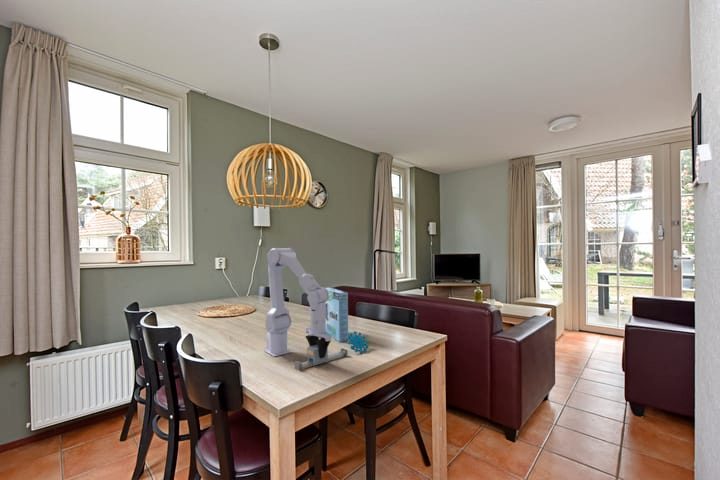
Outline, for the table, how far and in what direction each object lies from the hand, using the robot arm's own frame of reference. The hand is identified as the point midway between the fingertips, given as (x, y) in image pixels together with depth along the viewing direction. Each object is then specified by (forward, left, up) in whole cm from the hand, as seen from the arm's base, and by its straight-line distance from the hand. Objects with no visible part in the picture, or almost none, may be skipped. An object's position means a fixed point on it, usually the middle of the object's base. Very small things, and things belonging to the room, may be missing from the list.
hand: (318, 355), depth 121 cm
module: (0, 0, -2) cm, 2 cm away
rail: (0, +2, -3) cm, 4 cm away
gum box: (-24, +26, -3) cm, 36 cm away
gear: (-1, +21, -3) cm, 21 cm away
